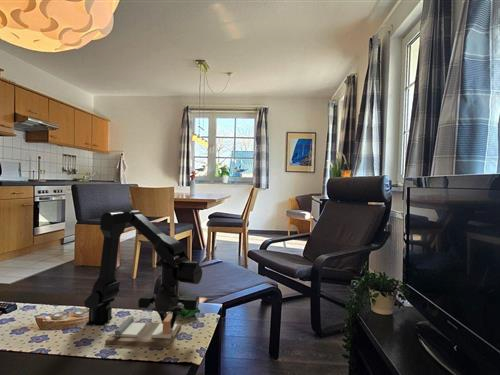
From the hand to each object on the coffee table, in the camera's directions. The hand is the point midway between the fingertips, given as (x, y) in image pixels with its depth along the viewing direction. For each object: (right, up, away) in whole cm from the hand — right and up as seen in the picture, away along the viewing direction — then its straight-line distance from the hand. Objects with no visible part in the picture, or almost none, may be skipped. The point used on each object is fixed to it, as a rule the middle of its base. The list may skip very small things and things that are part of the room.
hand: (168, 327), depth 97 cm
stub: (-1, -1, 0) cm, 2 cm away
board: (-8, -3, 0) cm, 8 cm away
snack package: (+1, -4, +19) cm, 19 cm away
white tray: (-13, -1, 0) cm, 13 cm away
